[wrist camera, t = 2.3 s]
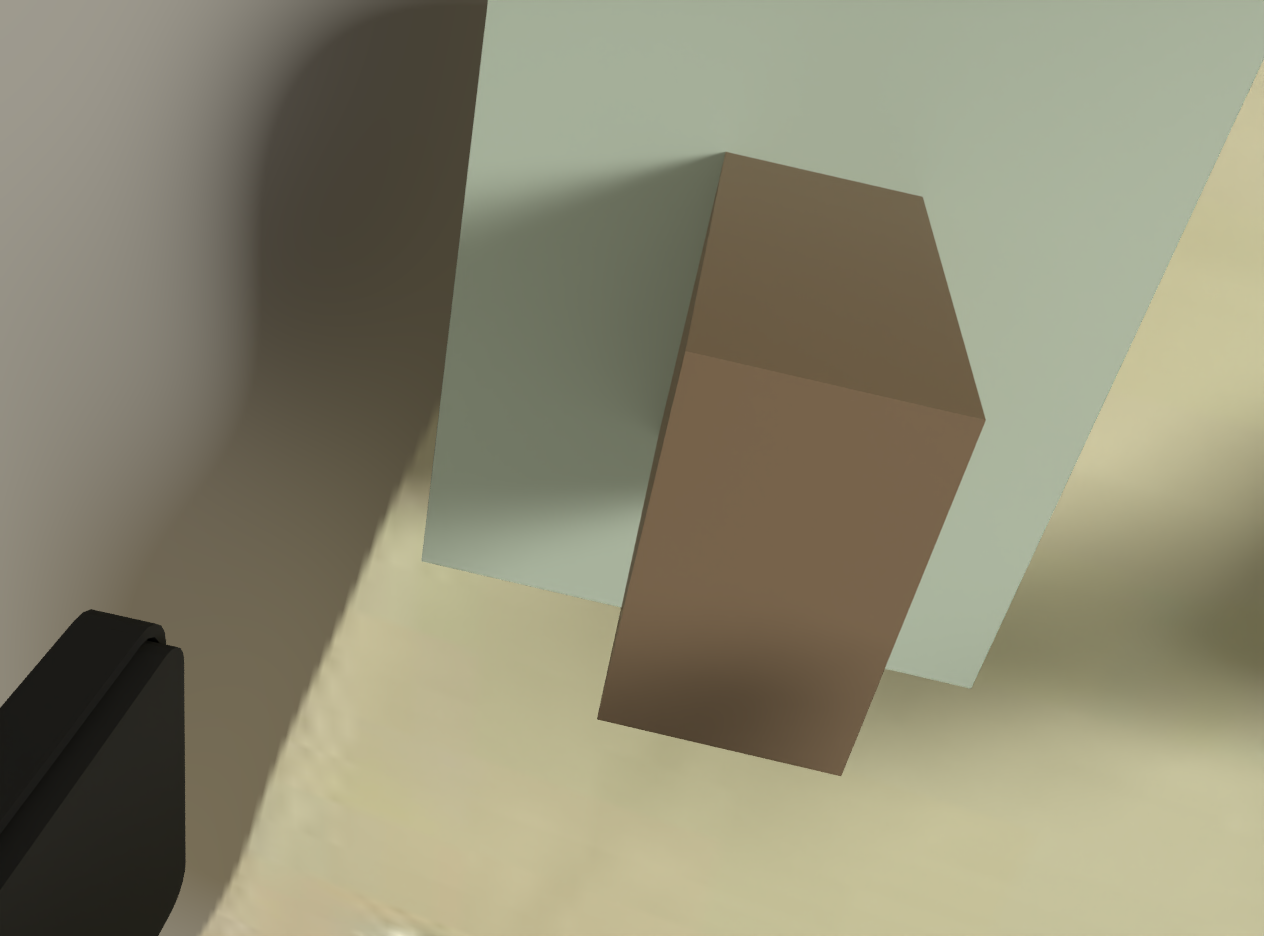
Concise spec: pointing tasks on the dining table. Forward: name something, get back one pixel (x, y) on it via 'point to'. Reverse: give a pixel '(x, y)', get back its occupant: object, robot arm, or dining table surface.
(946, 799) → the dining table surface
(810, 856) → the dining table surface
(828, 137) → the lid
